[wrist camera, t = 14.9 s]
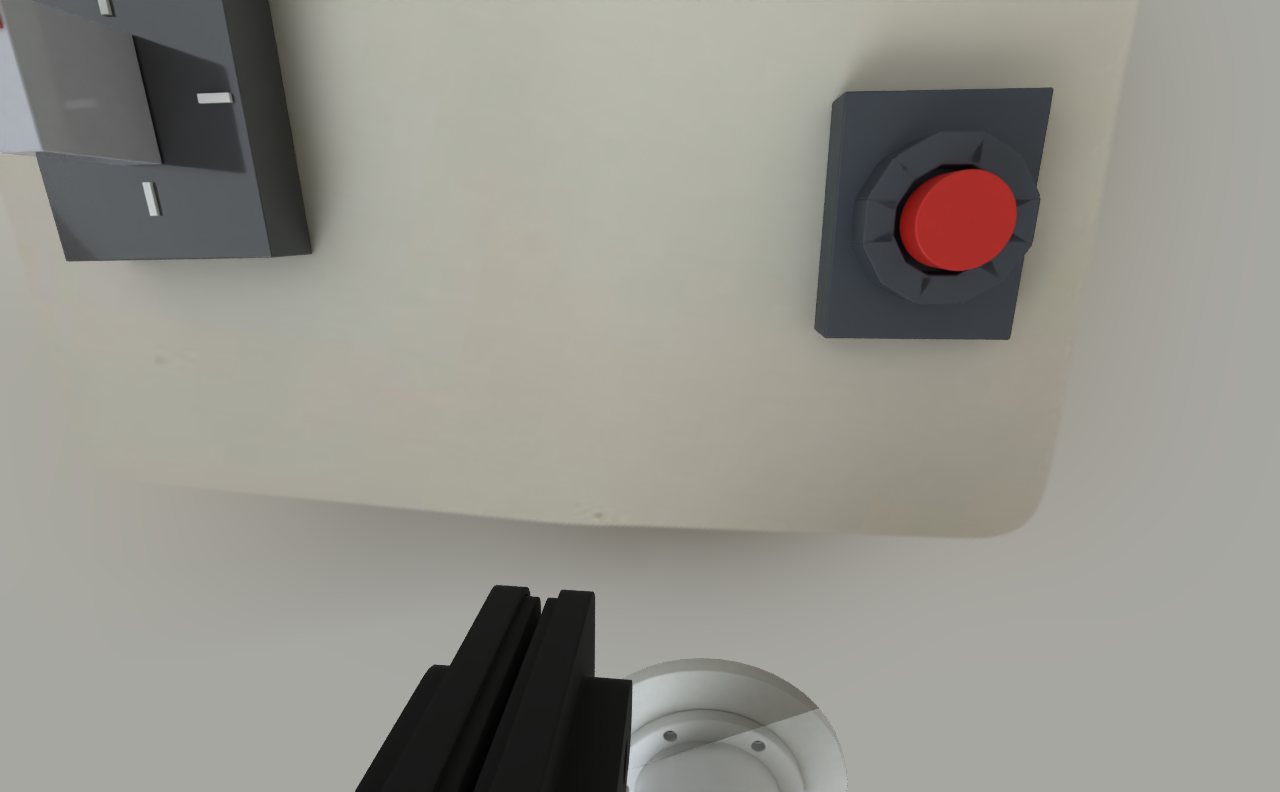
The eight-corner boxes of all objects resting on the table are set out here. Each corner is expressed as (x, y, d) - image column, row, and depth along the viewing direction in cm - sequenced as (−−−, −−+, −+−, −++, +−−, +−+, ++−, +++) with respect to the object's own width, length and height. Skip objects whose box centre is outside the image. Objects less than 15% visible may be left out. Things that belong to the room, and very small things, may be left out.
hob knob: (163, 164, 25) (35, 150, 20) (124, 165, 26) (-12, 152, 21) (132, 33, 24) (-13, -16, 19) (91, 35, 24) (-63, -13, 19)
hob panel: (312, 254, 29) (269, 257, 26) (125, 257, 30) (62, 261, 27) (259, -54, 26) (202, -91, 23) (47, -41, 26) (-36, -75, 23)
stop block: (986, 331, 28) (1033, 348, 24) (813, 329, 28) (834, 346, 25) (1024, 98, 25) (1085, 76, 21) (832, 102, 26) (857, 80, 22)
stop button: (986, 267, 24) (1008, 271, 22) (893, 267, 24) (909, 271, 22) (1001, 172, 23) (1026, 168, 21) (904, 173, 23) (921, 169, 21)
